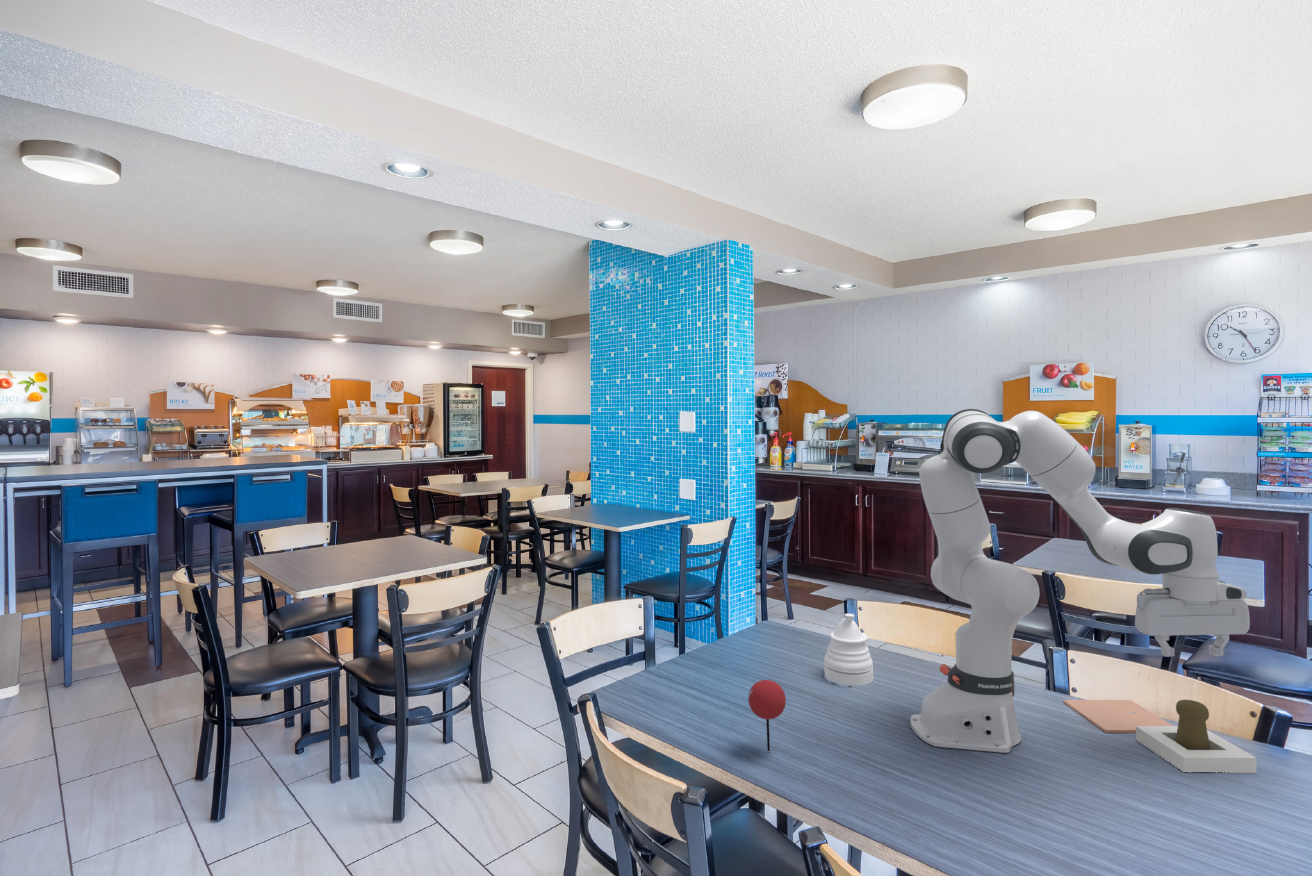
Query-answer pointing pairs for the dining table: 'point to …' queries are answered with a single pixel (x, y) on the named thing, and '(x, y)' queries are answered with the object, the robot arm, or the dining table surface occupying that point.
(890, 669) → the dining table surface
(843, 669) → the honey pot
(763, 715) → the lollipop
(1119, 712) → the terracotta tile
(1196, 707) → the olive pawn
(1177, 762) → the frame
